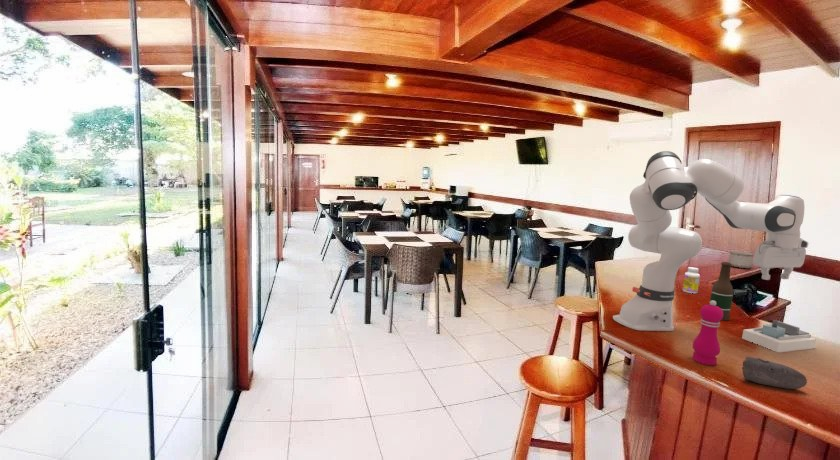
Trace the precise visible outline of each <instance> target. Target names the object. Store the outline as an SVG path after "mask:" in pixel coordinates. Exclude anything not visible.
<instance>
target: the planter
mask: <svg viewBox="0 0 840 460" xmlns="http://www.w3.org/2000/svg"><path fill="white" fill-rule="evenodd" d="M753 259H754V254H753V253H751V252H744V251H738V250H730V252H729V257H728V262H729V263H731V264H732V266H731V267H733V266H734V267H733V268H735V267H739V268H738V269H741V268H745V269H751V268H752V264H753Z"/></svg>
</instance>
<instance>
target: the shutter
mask: <svg viewBox="0 0 840 460" xmlns="http://www.w3.org/2000/svg"><path fill="white" fill-rule="evenodd" d="M777 321H778V324H777V326H779V327H782V328H785V329H786V330H785V333H787V334H790V335H792V336H794V335H805V334H810V333H809V332H807V331H804V330H801V329H800V327H798V326H796V325H792V324H789V323H786V322H783V321H780V320H777Z"/></svg>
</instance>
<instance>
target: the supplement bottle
mask: <svg viewBox="0 0 840 460" xmlns="http://www.w3.org/2000/svg"><path fill="white" fill-rule="evenodd" d="M699 270H700V269H699V268H697V267H692V266H688V267H687V271H686V272H685V273H684V278H683V283H682V291H683V292H684V293H687V294H692V293H693V294H698V293H699V292H698V291H699V284H700V279H701V275H700V274H699Z"/></svg>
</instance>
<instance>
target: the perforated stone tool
mask: <svg viewBox="0 0 840 460" xmlns="http://www.w3.org/2000/svg"><path fill="white" fill-rule="evenodd" d="M742 376H743V377H744V379H745V380H746V381H750V382H754V383H756V384H759V385H764V386H770V387H774V388H780V389H787V390H798V389H801V388H805V386H806V385H807V383H808V382H807V381H808V379H807V377H806V376H805V374H803V373H802V372H800V371H798V370H797V369H795V368H792V367H789V366H788V365H784V364H782V363H778V362H774V361H770V360H765V359H762V358H758V357H753V356H748V355H747V356H746V357H745V359H744V360H743V361H742Z"/></svg>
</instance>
